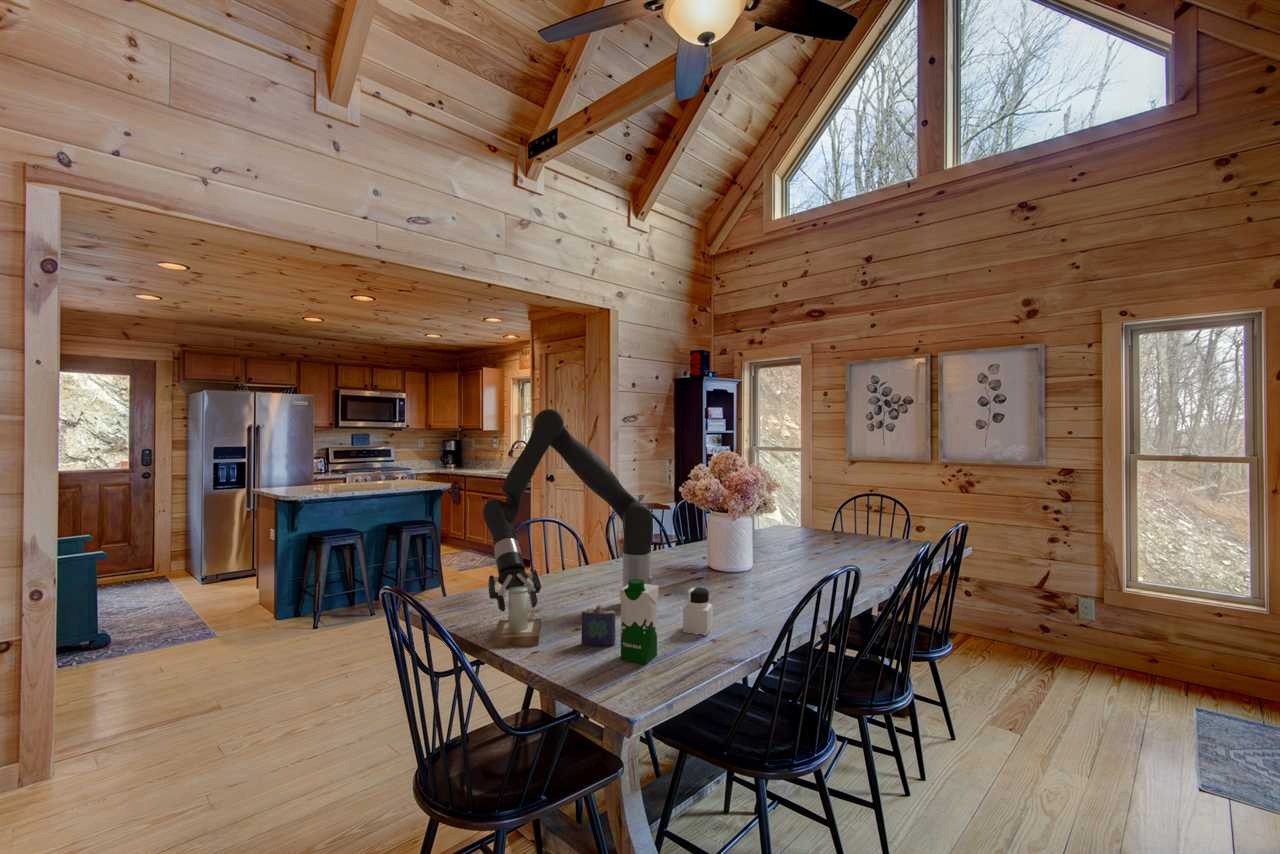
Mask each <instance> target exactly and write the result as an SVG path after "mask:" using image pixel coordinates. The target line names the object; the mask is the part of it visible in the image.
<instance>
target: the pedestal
mask: <svg viewBox="0 0 1280 854" xmlns="http://www.w3.org/2000/svg"><path fill="white" fill-rule="evenodd" d="M541 630H542V618H528V628H527V629H526V630H524V631H519V632H513V631H510V630H508V619H499V620H498V622H497V625H496V628H495V631H494V633H493V635H492V647H493V646H505V647H524V646H525V647H526V645H527V647H528V646H529V647H530V646H531V647H532V646H539V644H540V643H539V642H540V639H541Z"/></svg>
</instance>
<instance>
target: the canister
mask: <svg viewBox="0 0 1280 854" xmlns="http://www.w3.org/2000/svg"><path fill="white" fill-rule="evenodd" d="M507 592H508V593H507V594H508V596H507V597H508V601H507V602H508V607H507V608H508V609H507V610H508V611H507V612H508V613H507V614H508V619H507V620H508V630H510V631H513V632H519V631H524V630H526V629H527V628H528V619H529V618H528V616H529V615H528V614H529V613H528V608H529V605H528V603H529V601H528V599H529V598H528V595H529V594H528V587H525V586H517V587H510V588H509V589H508V590H507Z"/></svg>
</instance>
